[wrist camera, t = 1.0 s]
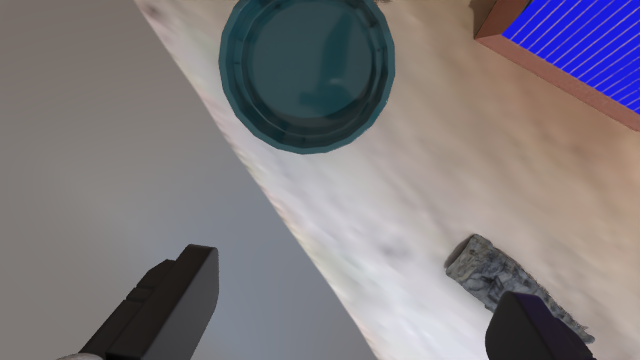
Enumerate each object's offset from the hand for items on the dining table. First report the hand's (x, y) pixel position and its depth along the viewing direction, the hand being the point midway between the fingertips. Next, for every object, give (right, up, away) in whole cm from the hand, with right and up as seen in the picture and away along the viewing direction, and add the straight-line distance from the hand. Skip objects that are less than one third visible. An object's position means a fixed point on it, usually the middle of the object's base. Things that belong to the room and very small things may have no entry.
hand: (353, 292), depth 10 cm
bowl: (-2, +14, +24) cm, 28 cm away
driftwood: (+23, -11, +32) cm, 41 cm away
